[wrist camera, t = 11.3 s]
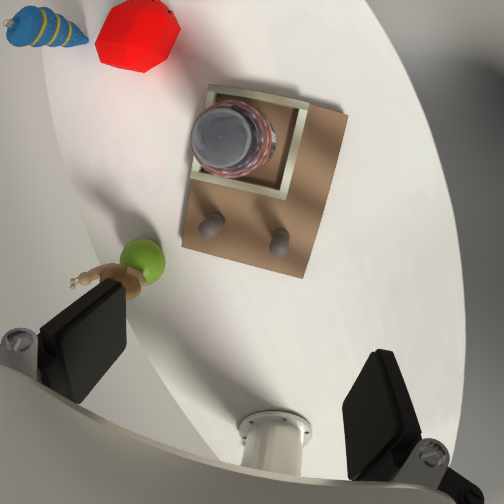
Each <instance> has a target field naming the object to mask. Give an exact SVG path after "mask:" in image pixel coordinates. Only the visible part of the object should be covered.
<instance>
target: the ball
mask: <svg viewBox="0 0 504 504" xmlns="http://www.w3.org/2000/svg"><path fill="white" fill-rule="evenodd" d="M180 30H181V28H180V26H179V24H178V22H177V20H176V18H175V16H174V14H173V12H172V11H171V10H170V11H169V10H168V7H167V6H166V5H165V4H163V3H162V2H161V1H160V0H157V1H155V0H127V1H125V2H123V3H121V4H119V5H117V6H116V7H114V8H112V9H111V11H110V12H109V14H108V16H107V18H106V20H105V22H104V24H103V26H102V29H101V31H100V33H99V35H98V37H97V40H96V42H95V46H96V50H97V53H98V56H99V59H100V62H101V63H104V64H107V65H110V66H113V67H116V68H121V69H126V70H132V71H137V72H142V73H145V72H146V71H148V70H150V69H151V68H153V67H155V66H156V65H158V64H160V63H161V62H163V61H165V60H166V59H167V58H168V56H169V53H170V51H171V49H172V47H173V45H174V42H175V40H176V38H177V36H178V34H179V32H180Z"/></svg>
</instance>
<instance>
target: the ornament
mask: <svg viewBox="0 0 504 504" xmlns="http://www.w3.org/2000/svg"><path fill="white" fill-rule="evenodd" d="M6 27H8V29H7V33H6V36H7V40H8V41H9V42H10V43H11V44H12V45H14V46H17V47H22V46H27V45H31V46H33V47H39V46H43V45H47V46H50V47H56V46H62V47H73V46H77V45H82V44H86V43H87V42H88V41H89V40H88V38H87V37H86V36H85V35H84V34H83V33H82V32H81V30H80V29H79V28H78V27H77V26H76V25H75V24H74V23H72V22H70V21H67V20H66V19H65V18H64V17H63V16H62V15H60V14H55V13H54V12H53V11H52V10H51V9H49V8H47V7H40V8H37V7H35V6H26V7H24V8H23V9H21V10H20V11H19V12H18V13H17V14H16V15H15V16H14V17H13V19H10V20H8V22H7V24H6Z"/></svg>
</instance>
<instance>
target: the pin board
mask: <svg viewBox="0 0 504 504" xmlns="http://www.w3.org/2000/svg"><path fill="white" fill-rule="evenodd" d="M227 100H236V101H241V102H244V103H247V104H249V105H251V106H253V107H254V108H256V109H257V110H258V111H259V112H260V113H261V114H262V115H263V116H264V117H265V118H266V119H267V120H268V121H269V122H270V124H271V125H272V127H273V129H274V131H275V135H276V150H275V151H274V154H273V156H272V157H271V159H270V160H269V161H268V162H267V163H266V164H265V165H264V166H262V167H261V168H259V169H257V170H255V171H254V172H252V173H250V174H248V175H245V176H242V177H238V178H223V177H218V176H215V175H213V174H211V173H209V172H208V171H206V170H205V169H204V168H203V167H202V166H201V165H200V164H199V163H198V161H197V160H196V158H195V156H194V158H193V163H192V168H191V174H190V178H191V179H192V182H191V188H190V194H189V200H188V206H187V212H186V219H185V226H184V233H183V240H182V247H184V248H188V249H192V250H195V251H199V252H203V253H206V254H210V255H214V256H217V257H221V258H225V259H229V260H232V261H236V262H240V263H244V264H248V265H251V266H255V267H259V268H263V269H267V270H270V271H274V272H278V273H282V274H286V275H290V276H293V277H297V278H301V279H303V277H304V273H305V270H306V267H307V264H308V261H309V258H310V255H311V251H312V248H313V245H314V242H315V238H316V235H317V232H318V228H319V225H320V221H321V218H322V215H323V211H324V208H325V204H326V201H327V197H328V193H329V190H330V186H331V183H332V179H333V175H334V171H335V168H336V164H337V160H338V156H339V152H340V148H341V144H342V140H343V136H344V132H345V128H346V124H347V119H348V115H346V114H342V113H339V112H336V111H332V110H329V109H325V108H322V107H318V106H314V105H310V104H309V103H308V102H304V101H300V100H295V99H291V98H287V97H282V96H278V95H273V94H268V93H263V92H257V91H252V90H246V89H240V88H234V87H227V86H220V85H212V84H209V87H208V92H207V96H206V100H205V104H204V109H203V111H204V110H205V109H207V108H208V107H210V106H211V105H213V104H215V103H218V102H221V101H227Z"/></svg>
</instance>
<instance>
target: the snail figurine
mask: <svg viewBox="0 0 504 504" xmlns="http://www.w3.org/2000/svg"><path fill="white" fill-rule="evenodd" d="M164 268H165V257H164V253H163V251H162V249H161V248H160V247H159V246H158V245H157V244H156V243H155V242H153V241H151V240H148V239H136V240H134V241H132V242H130V243H129V244H127V245H126V247H125V248H124V249H123V251H122V253H121V256H120V264H115V263H110V264H105V265H101V266H98V267H95V268H93V269H91V270H90V271H88V272H84V273H81V274H80V275H79V277H77V278H78V281H79V283H80V284H82V285H88V284H90V283H91V281H93V280H96V279H98V278H100V283H101V282H102V281H103V280H105V279H106V278H111V279H114V280H117V281H120V282H122V284H123V287H125V289H126V300H129V299H132V298H135V297H136V296H137V295H139V293H140V291H141V285H149V284H152V283H154V282H155V281H156V280H158V279H159V278H160V276H161V275H162V273H163V271H164ZM77 278H75V279H77ZM75 279H73V278H72V279H71V281H70V282H71V286H70V288H71V289H75V285H76V284H77V283H76V284H75V285H74V283H75Z"/></svg>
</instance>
